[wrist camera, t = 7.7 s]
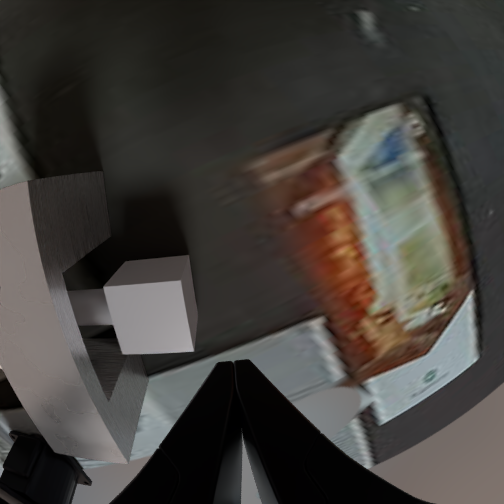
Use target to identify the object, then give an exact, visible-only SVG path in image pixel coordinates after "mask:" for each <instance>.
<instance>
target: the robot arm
mask: <svg viewBox="0 0 504 504" xmlns="http://www.w3.org/2000/svg"><path fill="white" fill-rule="evenodd" d="M241 428H242V429H241ZM320 433H321V432H320V431H319V430H318V429H317V428H316V427H315V426H314V425H313V424H312V423H311V422H310V421H309V420H308V419H307V418H306V417H305V416H304V415H303V414H302V413H301V412H300V411H299V410H298V409H297V408H296V407H295V406H294V405H293V404H292V403H291V402H290V401H289V400H288V399H287V398H286V397H285V396H284V395H283V394H282V393H281V392H280V391H279V390H278V389H277V388H276V387H275V386H274V385H273V384H272V383H271V382H270V381H269V380H268V379H267V378H266V377H265V376H264V374H263V373H262V372H261V371H260V370H259V369H258V368H257V367H256V366H255V365H254V364H253V363H252V362H251V361H250V360H249V359H245V360H236V361H234V364H233V362H232V361H225V362H218V363H216V365H215V366H214V368H213V369H212V371H211V372H210V374H209V375H208V377H207V378H206V380H205V381H204V383H203V384H202V385H201V387H200V388H199V390H198V391H197V393H196V394H195V396H194V397H193V399H192V400H191V401H190V403H189V404H188V406H187V407H186V409H185V410H184V412H183V413H182V414H181V416H180V417H179V419H178V420H177V422H176V423H175V424H174V426H173V427H172V429H171V430H170V432H169V433H168V434H167V436H166V437H165V439H164V440H163V441H162V443H161V444H160V446H159V449H156V451H155V452H154V454H153V455H152V456H151V458H150V459H149V461H148V462H147V463H146V464H145V466H144V467H143V468H142V469H141V471H140V472H139V473H138V474H137V476H136V477H135V478H134V479H133V480H132V481H131V482H130V483H129V484H128V485H127V486H126V487H125V488H124V490H123V491H122V492H121V493H120V494H119V495H118V496H117V497H115V498H114V500H112V501H111V502H110V503H109V504H241V480H242V434H243V440H244V444H245V448H246V451H247V455H248V459H249V462H250V465H251V469H252V472H253V475H254V479H255V482H256V486H257V489H258V492H259V495H260V499H261V502H262V504H435V503H430V502H426V501H423V500H420V499H418V498H415V497H413V496H411V495H409V494H408V493H406V492H404V491H402V490H401V489H399V488H397V487H395V486H394V485H392V484H390V483H389V482H387V481H385V480H384V479H382V478H380V477H379V476H377V475H375V474H374V473H372V472H371V471H369V470H368V469H366V468H365V467H363V466H362V465H360V464H359V463H358V462H356V461H355V460H353V459H352V458H350V457H349V456H348V455H346V454H345V453H344V452H343V451H342V450H341V449H339V448H338V447H337V446H336V445H335V444H333V443H332V442H331V441H330V440H329V439H328V438H327V437H326V436H325V435H324V434H322V433H321V434H320ZM9 436H10V437H11V439H12V440H13V441H14V444H13V446H12V448H11V450H10V452H9V454H8V456H7V458H6V460H5V462H4V464H3V468H4V471H3V473H2V475H1V477H0V504H71V503H72V500H73V496H74V493H75V489H76V486H77V483H78V484H83V485H89V486H91V484H92V481H91V479H90V478H89V477H88V476H87V475H86V474H85V472H84V471H83V470H82V469H81V467H80V466H79V465H78V464H77V462H76V461H75V460H74V459H73V457H72V456H69V455H64V454H59V453H55V452H54V451H53V449H52V448H51V447H50V445H49V444H48V443H47V441H46V440H45V439H42V438H38V437H34V436H30V435H26V434H22V433H18V432H15V431H10V433H9Z"/></svg>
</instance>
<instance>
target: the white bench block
mask: <svg viewBox="0 0 504 504" xmlns="http://www.w3.org/2000/svg"><path fill="white" fill-rule="evenodd" d="M111 236H112V234H111V228H110V222H109V215H108V208H107V201H106V193H105V185H104V176H103V171H96V172H87V173H79V174H71V175H63V176H56V177H49V178H42V179H36V180H30V181H25V182H22V183H18V184H15V185H12V186H8V187H5V188H2V189H0V365H1V367H2V369H3V371H4V373H5V375H6V377H7V379H8V381H9V382H10V384H11V386H12V388H13V390H14V391H15V393H16V395H17V397H18V398H19V400H20V402H21V403H22V405H23V407H24V408H25V410H26V412H27V413H28V415H29V416H30V418H31V419H32V421H33V422H34V424H35V425H36V427H37V428H38V430H39V431H40V433H41V434H42V436H43V437H44V438H45V440H46V441H47V443H48V444H49V445H50V447H51V448H52V449H53V451H54V452H55V453H59V454H64V455H69V456H74V457H79V458H85V459H92V460H98V461H106V462H114V463H124V464H129V460H130V456H131V451H132V447H133V442H134V438H135V434H136V429H137V425H138V421H139V417H140V413H141V409H142V405H143V401H144V397H145V393H146V390H147V386H148V382H149V380H148V377H147V374H146V371H145V368H144V365H143V362H142V358H141V355H140V354H122V351H121V348H120V345H119V341H118V338H82V337H81V334H80V331H79V328H78V325H77V322H76V319H75V316H74V313H73V310H72V306H71V303H70V300H69V296H68V293H67V289H66V286H65V282H64V278H63V274H62V273H63V272H65V271H66V270H67V269H68V268H70V267H71V266H72V265H74V264H75V263H76V262H77V261H79V260H80V259H81V258H83V257H84V256H85V255H86V254H88V253H89V252H90V251H92V250H93V249H94V248H96V247H97V246H98V245H100V244H101V243H102V242H104V241H105V240H106V239H108V238H109V237H111Z"/></svg>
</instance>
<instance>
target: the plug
mask: <svg viewBox="0 0 504 504" xmlns="http://www.w3.org/2000/svg"><path fill="white" fill-rule="evenodd" d="M67 293H68V296H69V300H70V303H71V306H72V310H73V313H74V316H75V319H76V322H77V325H78V326H89V325H114V329H115V332H116V335H117V338H118V341H119V345H120V348H121V351H122V354H155V353H176V352H192V351H194V346H195V337H196V329H197V321H198V312H197V305H196V299H195V293H194V286H193V280H192V273H191V266H190V259H189V255H184V256H174V257H164V258H154V259H144V260H134V261H125V262H124V264H123V265H122V266H121V267H120V268H119V269H118V270H117V271H116V273H115V274H114V275H113V276H112V277H111V278H110V279H109V281H108V282H107V283H106V284H105V285H104V286H103V288H101V289H88V290H73V291H67ZM0 369H2V367H1V365H0Z"/></svg>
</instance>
